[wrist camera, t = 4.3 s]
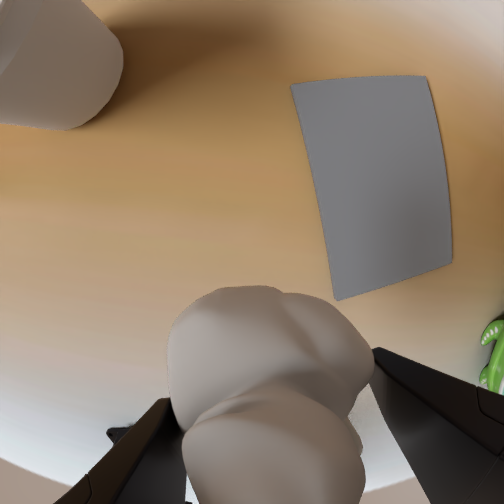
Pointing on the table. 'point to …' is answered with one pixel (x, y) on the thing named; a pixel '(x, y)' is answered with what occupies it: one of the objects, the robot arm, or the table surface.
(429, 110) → the grey mat
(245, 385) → the off-white lumpy chunk
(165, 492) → the robot arm
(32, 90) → the can
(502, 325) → the turtle holder
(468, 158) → the table surface
